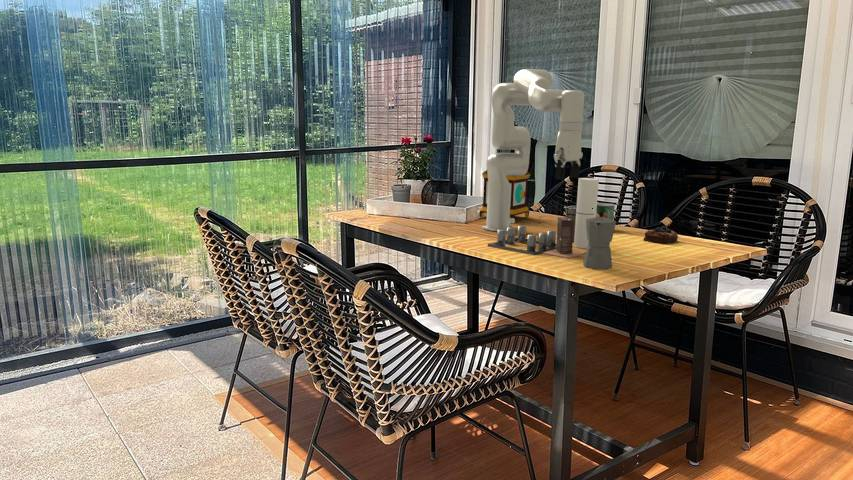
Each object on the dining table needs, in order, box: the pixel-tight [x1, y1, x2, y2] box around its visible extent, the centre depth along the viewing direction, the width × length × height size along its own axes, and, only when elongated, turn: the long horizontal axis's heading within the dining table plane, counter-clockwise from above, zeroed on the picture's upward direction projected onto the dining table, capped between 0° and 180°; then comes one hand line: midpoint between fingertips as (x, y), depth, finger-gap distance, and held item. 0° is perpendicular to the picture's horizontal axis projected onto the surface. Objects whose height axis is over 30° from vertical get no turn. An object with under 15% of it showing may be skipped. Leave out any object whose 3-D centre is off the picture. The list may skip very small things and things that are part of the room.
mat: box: [542, 249, 586, 260], centre depth 229 cm, size 12×10×1 cm
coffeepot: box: [582, 211, 617, 271], centre depth 210 cm, size 15×9×18 cm, turn 159°
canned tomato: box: [596, 202, 615, 220], centre depth 279 cm, size 8×8×11 cm
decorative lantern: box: [478, 169, 531, 219], centre depth 302 cm, size 20×20×30 cm
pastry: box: [643, 226, 679, 245], centre depth 258 cm, size 11×12×6 cm
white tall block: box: [573, 177, 600, 249], centre depth 240 cm, size 7×7×25 cm
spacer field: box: [487, 225, 557, 256], centre depth 239 cm, size 20×20×6 cm
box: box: [556, 216, 575, 254], centre depth 228 cm, size 6×4×12 cm
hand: (567, 178), depth 225 cm, fingers open, 9 cm apart
